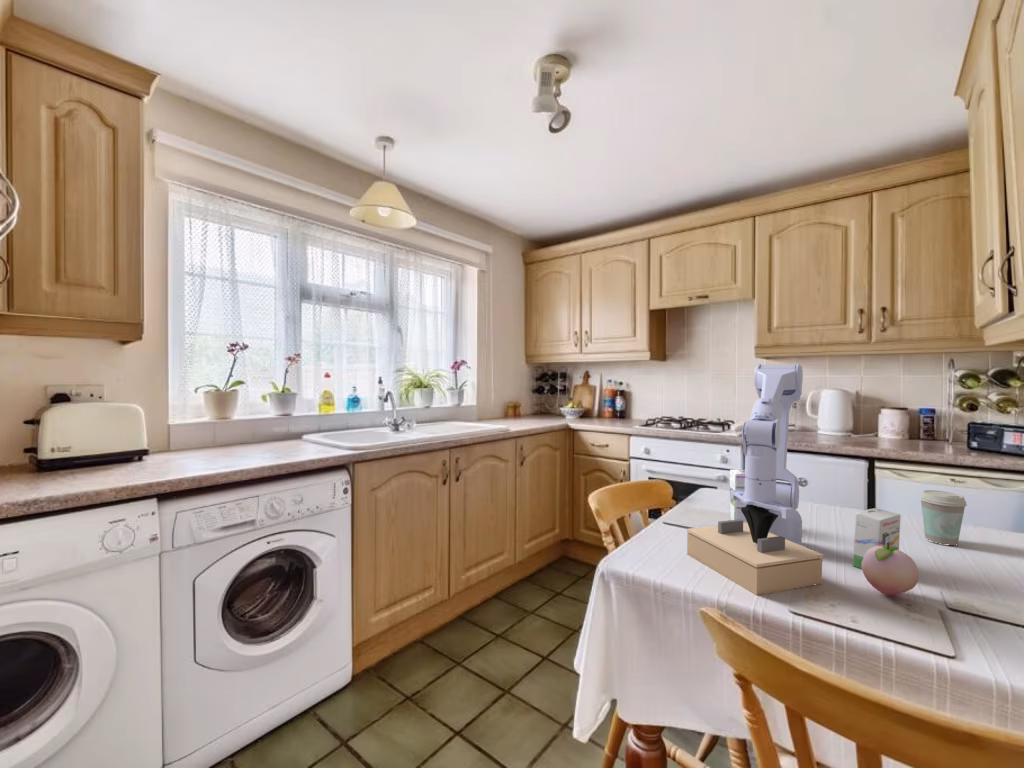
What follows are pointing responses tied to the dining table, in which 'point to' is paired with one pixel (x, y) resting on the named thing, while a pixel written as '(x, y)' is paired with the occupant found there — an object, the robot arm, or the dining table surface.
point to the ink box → (874, 531)
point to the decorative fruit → (889, 570)
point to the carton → (755, 569)
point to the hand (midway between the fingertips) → (759, 542)
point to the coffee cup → (942, 515)
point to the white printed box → (739, 484)
